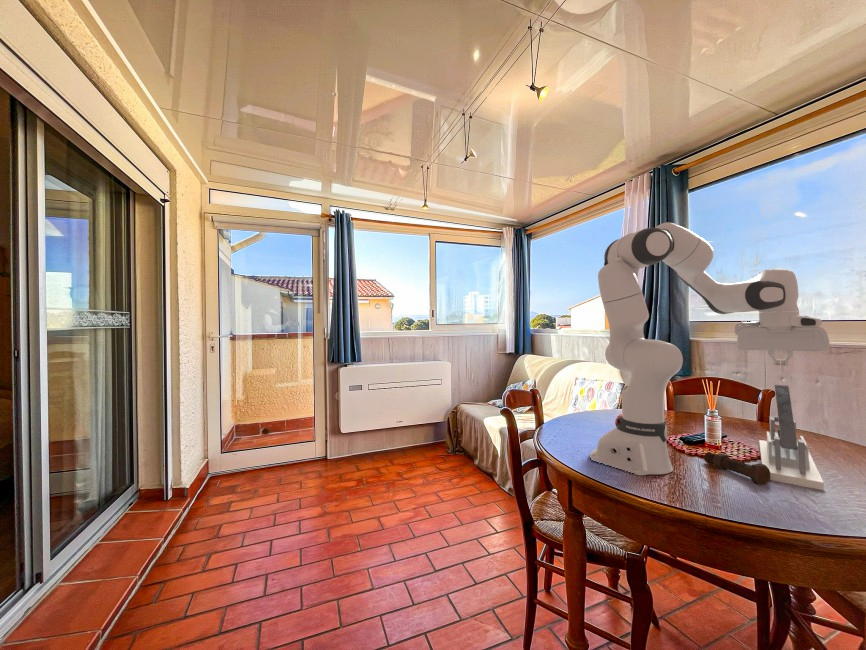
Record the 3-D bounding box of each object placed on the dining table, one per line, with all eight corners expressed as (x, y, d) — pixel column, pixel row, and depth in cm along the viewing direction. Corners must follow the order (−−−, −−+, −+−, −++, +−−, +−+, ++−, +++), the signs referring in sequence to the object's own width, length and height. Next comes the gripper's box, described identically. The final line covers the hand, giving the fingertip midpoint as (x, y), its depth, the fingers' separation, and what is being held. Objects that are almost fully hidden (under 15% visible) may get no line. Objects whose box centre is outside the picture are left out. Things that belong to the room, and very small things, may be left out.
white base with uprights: (763, 478, 93) (761, 437, 93) (759, 445, 117) (758, 413, 117) (824, 490, 86) (821, 446, 86) (806, 452, 109) (805, 418, 109)
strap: (781, 447, 94) (781, 445, 93) (774, 387, 108) (774, 384, 108) (797, 450, 92) (797, 447, 91) (788, 388, 106) (788, 385, 106)
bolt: (709, 468, 105) (766, 489, 90) (697, 462, 104) (753, 482, 89) (716, 451, 105) (773, 469, 91) (704, 444, 105) (760, 461, 90)
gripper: (734, 322, 111) (735, 364, 110) (829, 319, 97) (831, 368, 97) (734, 322, 115) (736, 362, 115) (826, 319, 101) (828, 365, 101)
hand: (780, 365), depth 106 cm, fingers closed
